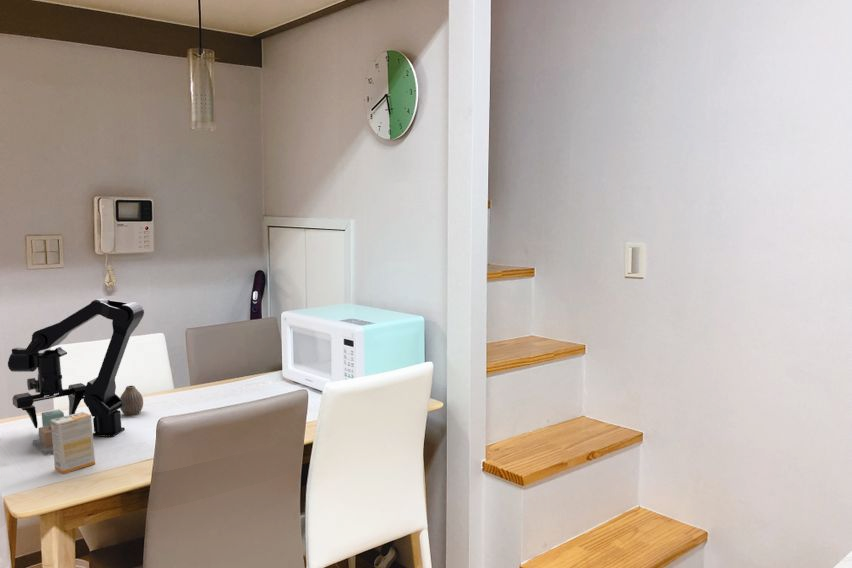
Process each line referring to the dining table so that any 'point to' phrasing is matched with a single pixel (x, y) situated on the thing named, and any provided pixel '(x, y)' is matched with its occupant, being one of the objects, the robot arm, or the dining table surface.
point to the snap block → (51, 416)
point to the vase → (131, 401)
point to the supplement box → (72, 442)
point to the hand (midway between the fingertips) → (53, 424)
